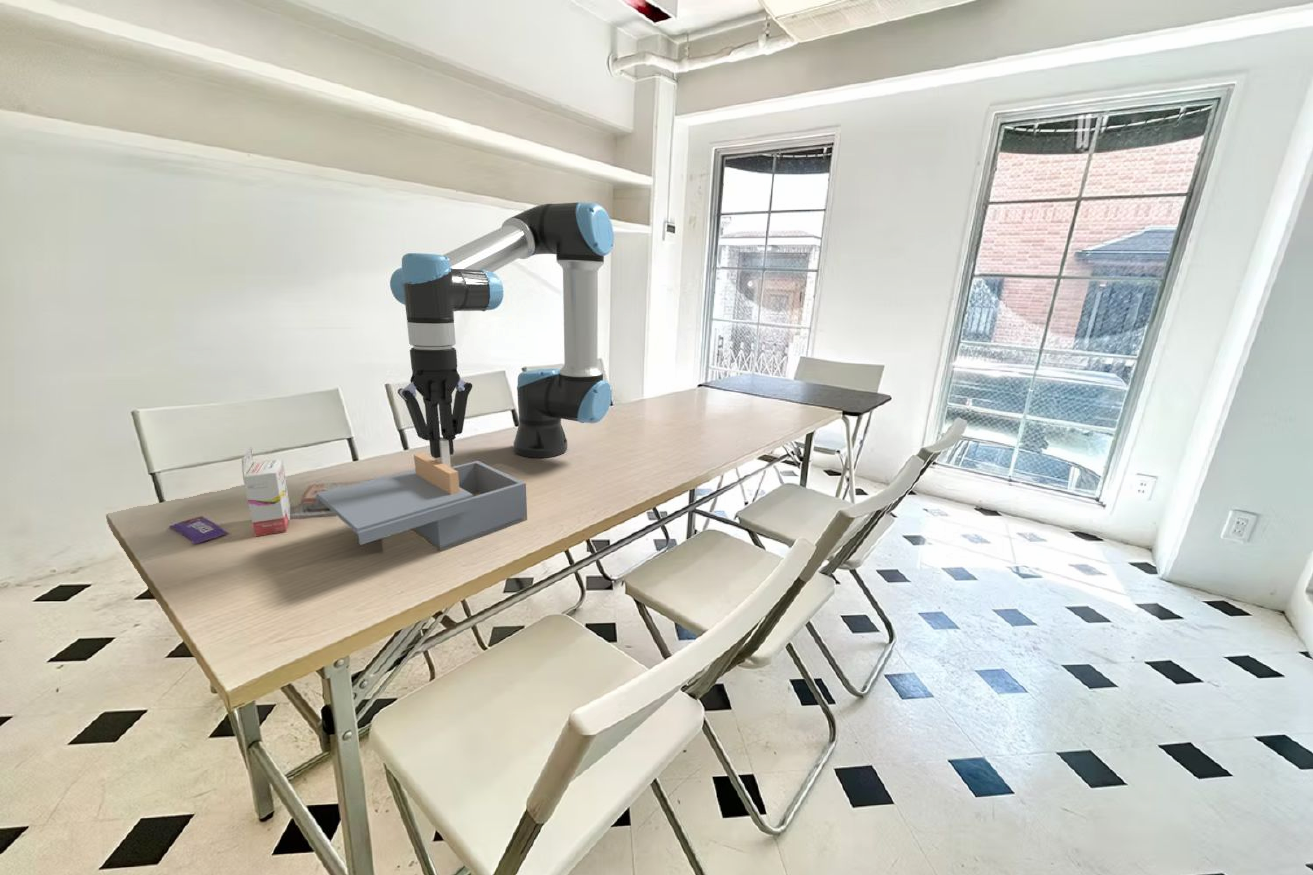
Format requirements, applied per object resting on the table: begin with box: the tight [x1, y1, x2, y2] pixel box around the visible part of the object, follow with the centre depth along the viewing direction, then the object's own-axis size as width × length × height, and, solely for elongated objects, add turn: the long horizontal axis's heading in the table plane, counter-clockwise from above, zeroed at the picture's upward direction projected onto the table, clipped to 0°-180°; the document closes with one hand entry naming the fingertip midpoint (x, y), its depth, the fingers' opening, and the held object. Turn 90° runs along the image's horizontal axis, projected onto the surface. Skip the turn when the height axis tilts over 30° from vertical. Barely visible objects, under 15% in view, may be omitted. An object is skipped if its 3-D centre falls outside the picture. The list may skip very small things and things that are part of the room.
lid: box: [316, 452, 476, 546], centre depth 88 cm, size 19×20×6 cm
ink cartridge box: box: [241, 447, 293, 537], centre depth 93 cm, size 9×5×15 cm, turn 30°
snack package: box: [168, 515, 230, 545], centre depth 91 cm, size 12×2×5 cm
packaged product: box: [290, 481, 361, 520], centre depth 104 cm, size 18×5×10 cm
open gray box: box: [410, 460, 528, 553], centre depth 99 cm, size 18×18×8 cm
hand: (443, 472), depth 95 cm, fingers closed
